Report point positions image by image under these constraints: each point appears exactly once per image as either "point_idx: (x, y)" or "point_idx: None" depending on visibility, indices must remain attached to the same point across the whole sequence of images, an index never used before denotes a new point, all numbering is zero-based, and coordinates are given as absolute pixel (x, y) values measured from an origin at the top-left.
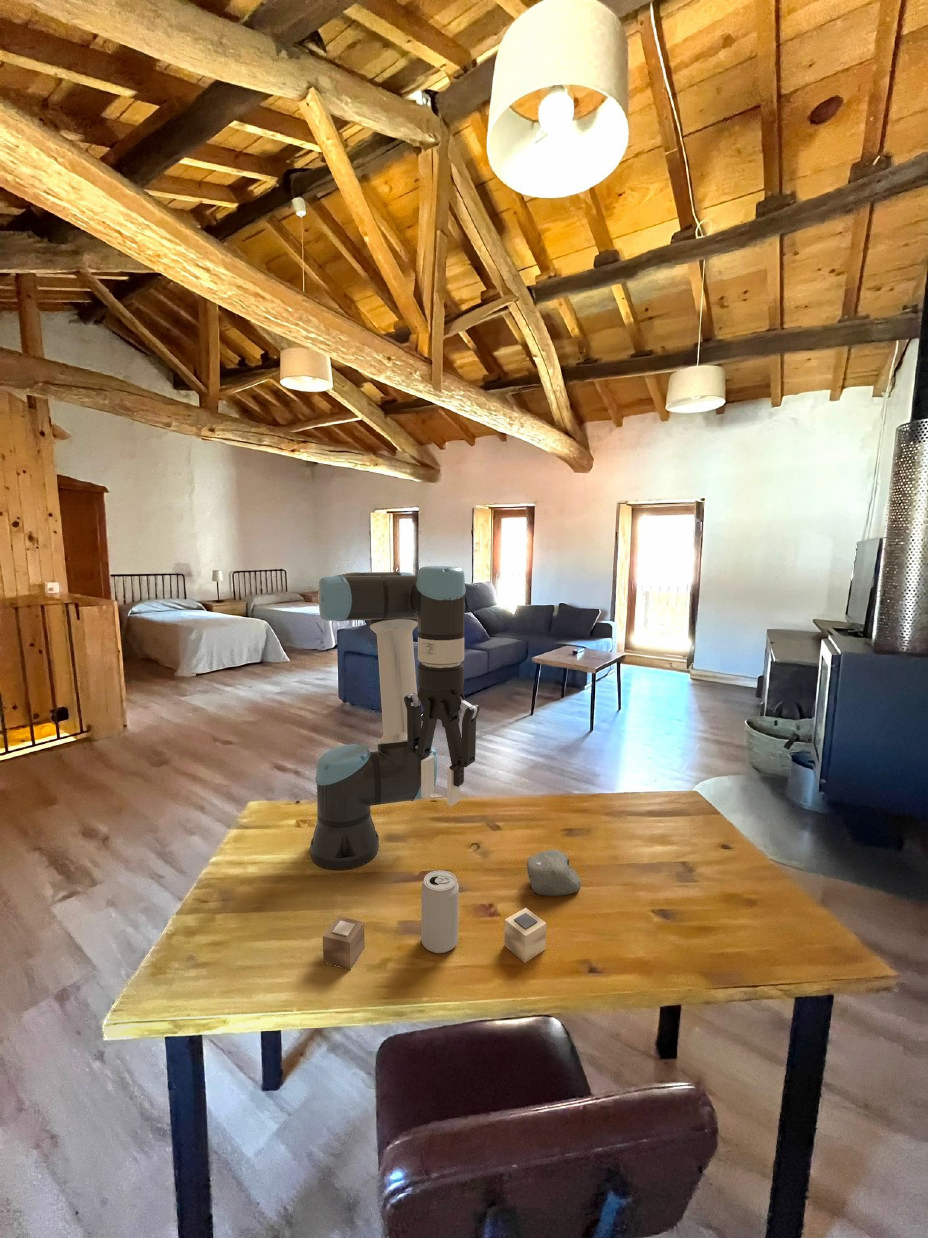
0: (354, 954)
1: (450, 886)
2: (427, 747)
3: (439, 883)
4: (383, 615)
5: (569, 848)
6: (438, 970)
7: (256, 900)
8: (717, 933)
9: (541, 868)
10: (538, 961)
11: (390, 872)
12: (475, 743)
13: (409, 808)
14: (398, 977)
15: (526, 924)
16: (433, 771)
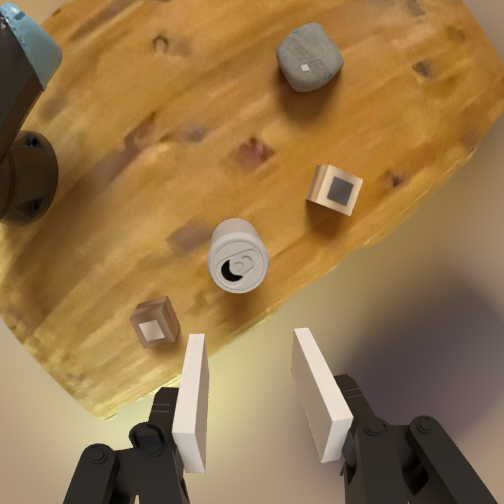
0: (174, 322)
1: (262, 269)
2: (184, 497)
3: (242, 273)
4: None
5: None
6: None
7: (33, 304)
8: (458, 83)
9: (314, 76)
10: None
11: (92, 169)
12: (474, 472)
13: None
14: (227, 305)
15: (344, 197)
16: (199, 386)
